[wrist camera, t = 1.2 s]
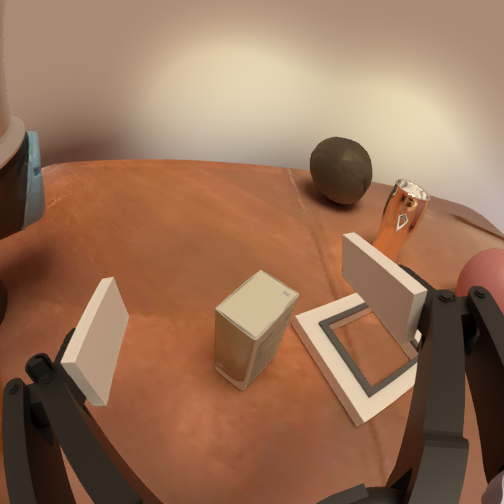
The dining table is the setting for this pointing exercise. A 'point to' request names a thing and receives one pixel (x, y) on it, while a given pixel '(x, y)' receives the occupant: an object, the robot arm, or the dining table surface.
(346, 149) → the dark brown ball
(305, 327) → the socket block
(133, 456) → the dining table surface
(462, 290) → the balloon
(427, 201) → the beer glass
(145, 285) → the dining table surface
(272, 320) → the skincare box
